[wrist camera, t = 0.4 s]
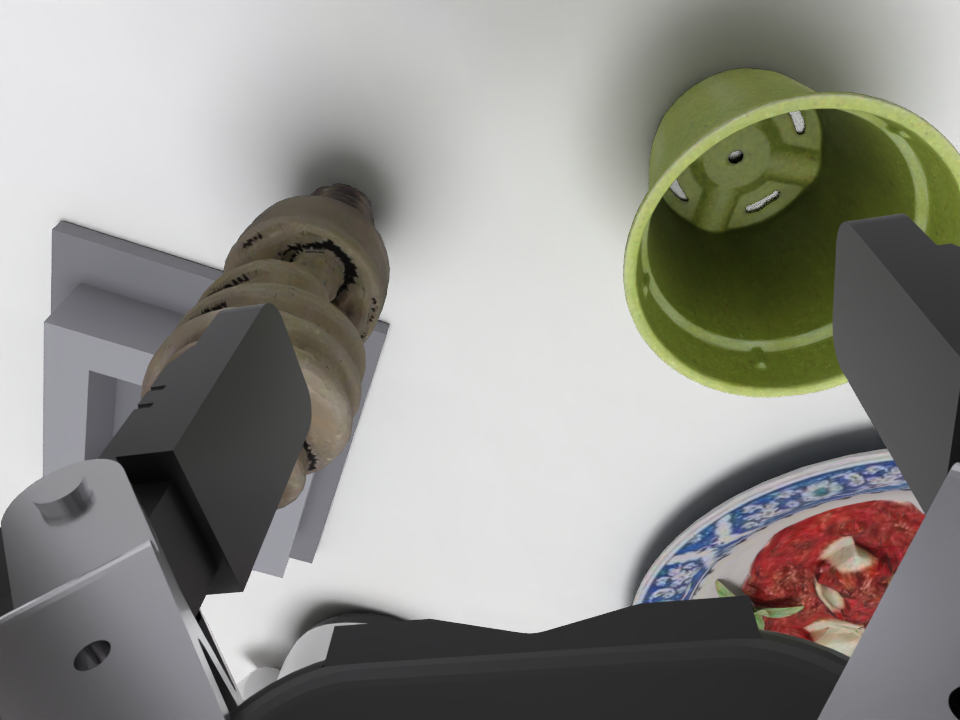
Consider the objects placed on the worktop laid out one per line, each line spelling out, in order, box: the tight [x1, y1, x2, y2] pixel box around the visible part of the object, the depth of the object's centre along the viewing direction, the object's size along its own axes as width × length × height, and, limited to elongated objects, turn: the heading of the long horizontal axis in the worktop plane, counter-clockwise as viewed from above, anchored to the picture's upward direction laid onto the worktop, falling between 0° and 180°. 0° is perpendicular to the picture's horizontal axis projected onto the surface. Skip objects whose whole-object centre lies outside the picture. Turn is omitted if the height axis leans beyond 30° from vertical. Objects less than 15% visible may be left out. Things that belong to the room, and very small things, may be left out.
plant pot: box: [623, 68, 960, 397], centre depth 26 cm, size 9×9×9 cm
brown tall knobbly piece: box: [141, 183, 390, 509], centre depth 25 cm, size 6×6×15 cm
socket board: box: [43, 221, 389, 578], centre depth 37 cm, size 16×14×4 cm
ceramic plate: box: [632, 449, 926, 657], centre depth 42 cm, size 26×26×3 cm
